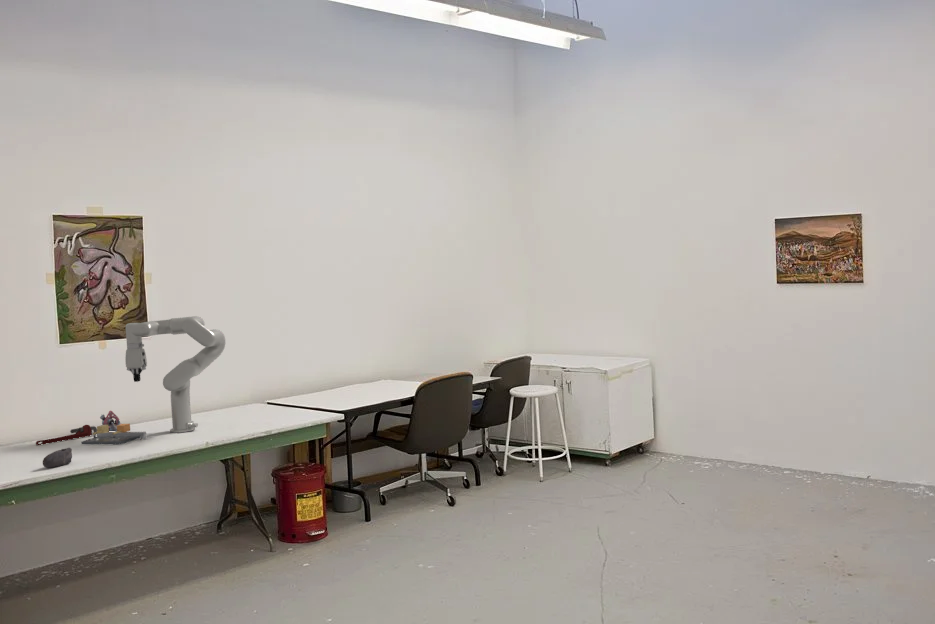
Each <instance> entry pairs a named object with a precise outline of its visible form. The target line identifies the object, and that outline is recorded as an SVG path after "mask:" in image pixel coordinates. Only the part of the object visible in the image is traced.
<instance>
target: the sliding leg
mask: <svg viewBox="0 0 935 624" xmlns="http://www.w3.org/2000/svg"><path fill="white" fill-rule="evenodd" d="M120 432H131V424H130V423H121V424H120V425H117V431H116V432H113V433H112V434H113V438H115V434H117V433H120Z"/></svg>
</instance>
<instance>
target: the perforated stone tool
mask: <svg viewBox="0 0 935 624" xmlns="http://www.w3.org/2000/svg"><path fill="white" fill-rule="evenodd" d="M72 459H73V454H72V448H71V447H65V448H61V449H58V450H55V451H53V452H51V453H49V454H47V455H45V457H44V458H43V459H42V466H43V467H44V468H45V469H53V468H57V467H59V468H60V467H61V466H62V467H63V466H65V465H68V464H70V463H72Z"/></svg>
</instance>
